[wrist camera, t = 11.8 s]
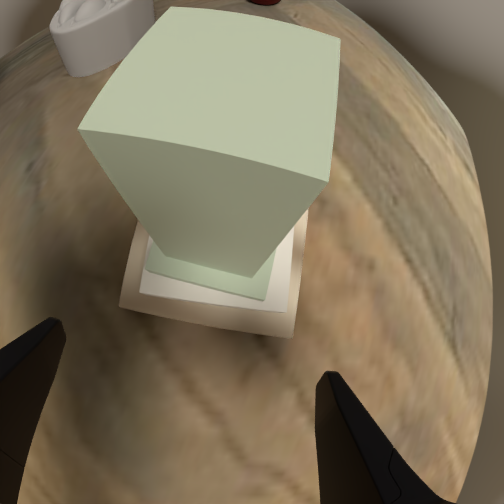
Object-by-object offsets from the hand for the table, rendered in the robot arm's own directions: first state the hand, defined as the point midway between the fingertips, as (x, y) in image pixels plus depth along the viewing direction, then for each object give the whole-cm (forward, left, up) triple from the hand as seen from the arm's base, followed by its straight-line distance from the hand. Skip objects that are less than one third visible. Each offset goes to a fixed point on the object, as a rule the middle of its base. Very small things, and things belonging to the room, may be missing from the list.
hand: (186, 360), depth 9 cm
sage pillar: (+6, +2, -8) cm, 11 cm away
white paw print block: (+20, +28, -12) cm, 37 cm away
